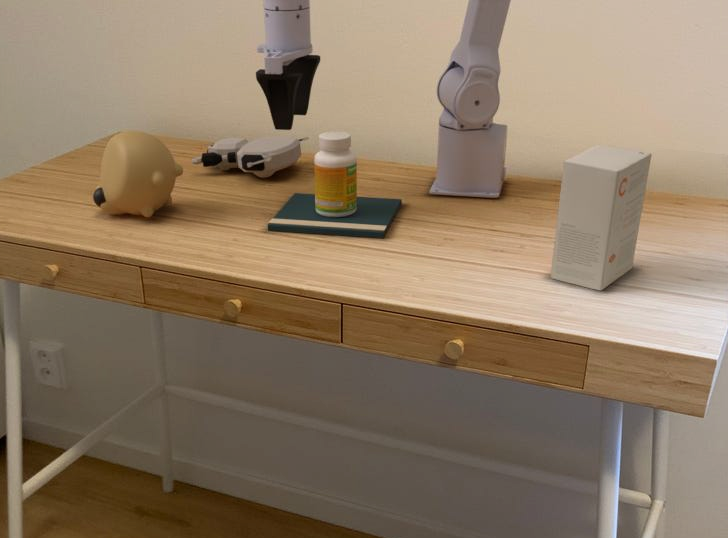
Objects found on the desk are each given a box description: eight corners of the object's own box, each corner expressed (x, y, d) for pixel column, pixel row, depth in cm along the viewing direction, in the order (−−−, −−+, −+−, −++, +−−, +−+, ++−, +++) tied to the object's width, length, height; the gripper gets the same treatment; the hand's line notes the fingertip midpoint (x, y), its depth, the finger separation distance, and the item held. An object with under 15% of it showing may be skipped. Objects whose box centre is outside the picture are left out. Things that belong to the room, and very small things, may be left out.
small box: (581, 256, 108) (598, 142, 101) (633, 269, 105) (654, 151, 97) (547, 278, 103) (562, 159, 96) (600, 292, 99) (620, 170, 92)
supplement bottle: (352, 219, 118) (352, 141, 113) (311, 217, 119) (309, 140, 114) (359, 205, 122) (359, 129, 117) (320, 203, 123) (318, 128, 118)
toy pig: (159, 226, 130) (105, 170, 129) (205, 167, 123) (148, 107, 122) (120, 248, 123) (63, 188, 121) (166, 187, 115) (105, 122, 114)
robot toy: (189, 181, 138) (277, 185, 132) (184, 150, 136) (273, 153, 129) (230, 160, 147) (314, 162, 141) (226, 130, 145) (312, 132, 138)
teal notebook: (401, 204, 125) (402, 198, 124) (383, 238, 114) (383, 231, 114) (294, 198, 128) (294, 192, 127) (267, 230, 118) (267, 223, 117)
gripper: (272, -2, 121) (277, 107, 128) (237, 16, 109) (245, 134, 117) (324, -1, 119) (326, 109, 127) (295, 17, 108) (299, 137, 115)
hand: (291, 121), depth 122 cm, fingers open, 7 cm apart
